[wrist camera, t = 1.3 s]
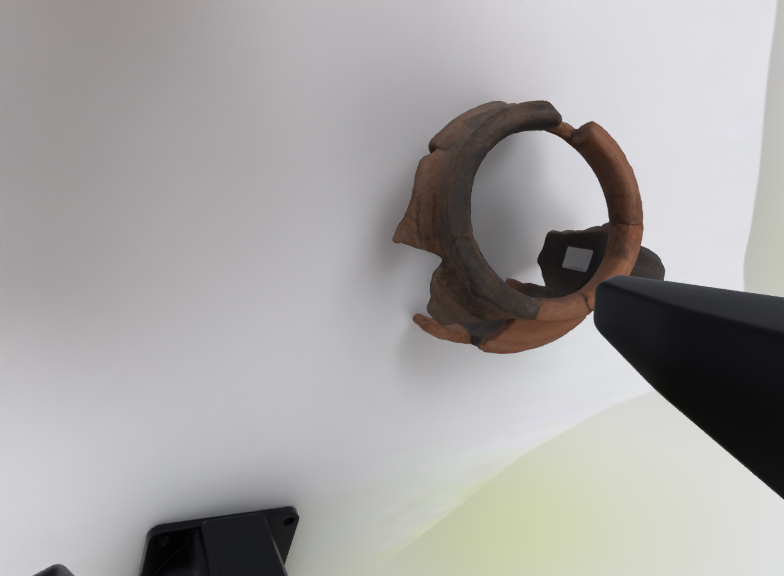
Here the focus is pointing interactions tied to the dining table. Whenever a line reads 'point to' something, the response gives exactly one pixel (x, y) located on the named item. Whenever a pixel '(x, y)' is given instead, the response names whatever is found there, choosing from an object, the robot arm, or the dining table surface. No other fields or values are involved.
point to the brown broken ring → (560, 251)
